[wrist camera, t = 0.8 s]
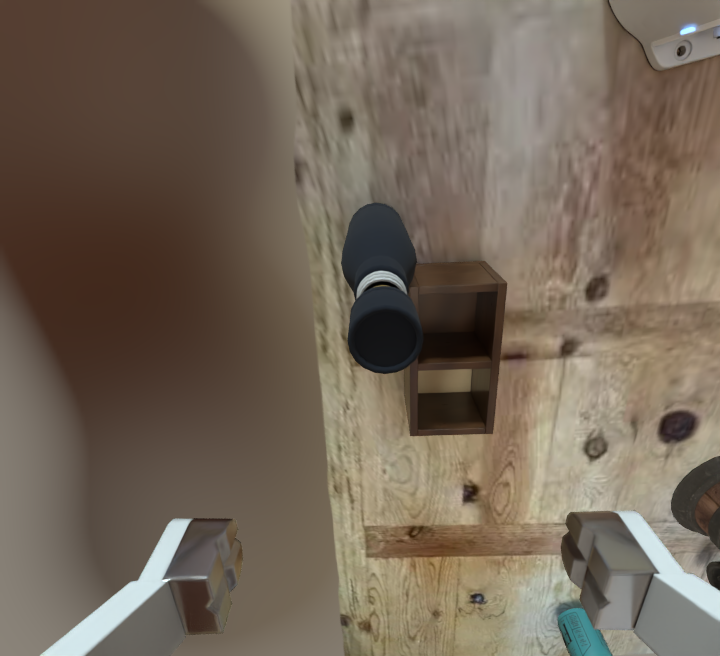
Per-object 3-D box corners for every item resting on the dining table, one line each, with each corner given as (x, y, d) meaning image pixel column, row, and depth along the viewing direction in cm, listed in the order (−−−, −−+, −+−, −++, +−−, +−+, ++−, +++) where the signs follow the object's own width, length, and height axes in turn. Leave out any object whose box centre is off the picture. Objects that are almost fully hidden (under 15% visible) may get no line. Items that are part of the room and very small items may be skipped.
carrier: (484, 260, 49) (507, 282, 41) (475, 393, 57) (493, 434, 49) (403, 264, 50) (409, 287, 42) (404, 395, 57) (410, 436, 49)
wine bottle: (404, 201, 47) (453, 279, 19) (403, 257, 49) (445, 395, 22) (347, 203, 47) (317, 282, 20) (349, 258, 50) (326, 396, 22)
